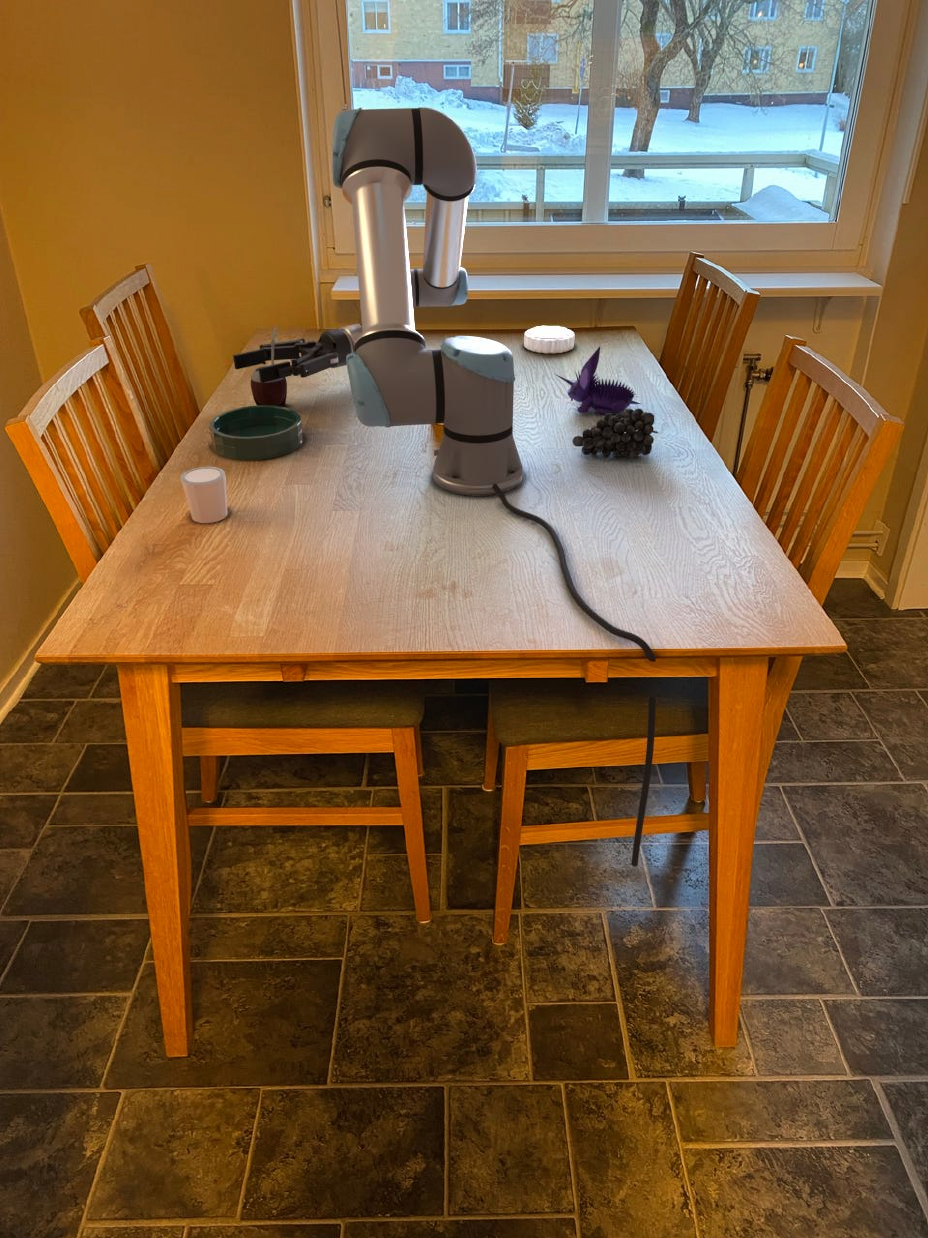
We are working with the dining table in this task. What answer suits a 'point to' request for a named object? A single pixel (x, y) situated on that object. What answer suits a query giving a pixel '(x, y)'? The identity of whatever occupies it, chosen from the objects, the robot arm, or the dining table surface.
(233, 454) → the green round tray
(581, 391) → the creature
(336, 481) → the dining table surface
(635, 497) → the dining table surface
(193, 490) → the white cylinder
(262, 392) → the mate gourd
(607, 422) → the fruit
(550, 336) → the white lid
